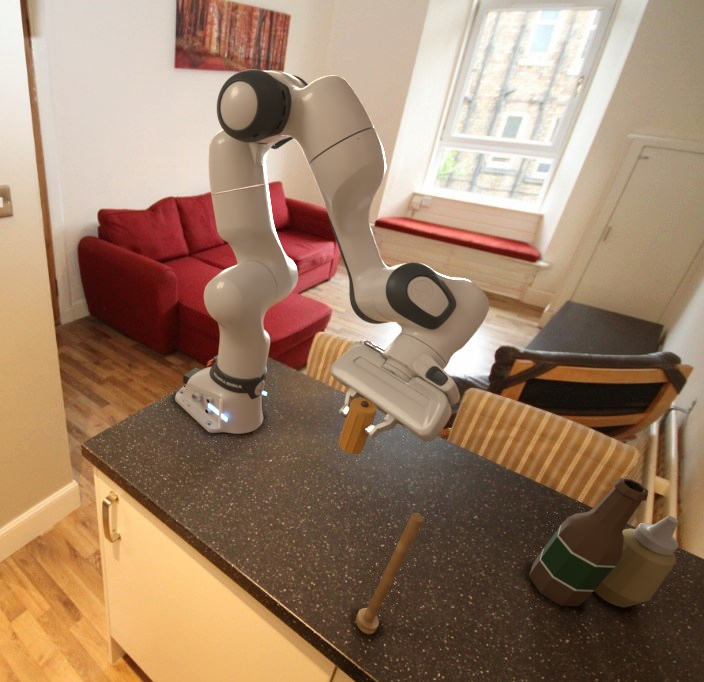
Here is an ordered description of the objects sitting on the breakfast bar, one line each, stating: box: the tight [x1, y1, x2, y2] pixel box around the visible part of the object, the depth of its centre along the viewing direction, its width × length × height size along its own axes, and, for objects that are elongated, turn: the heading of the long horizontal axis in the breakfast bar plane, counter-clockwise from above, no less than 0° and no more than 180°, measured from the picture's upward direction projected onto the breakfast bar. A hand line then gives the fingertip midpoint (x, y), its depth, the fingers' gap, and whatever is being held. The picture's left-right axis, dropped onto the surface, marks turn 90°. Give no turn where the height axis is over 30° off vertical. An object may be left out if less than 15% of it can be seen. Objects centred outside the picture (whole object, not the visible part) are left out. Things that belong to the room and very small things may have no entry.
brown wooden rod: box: [355, 512, 425, 635], centre depth 61 cm, size 3×3×24 cm
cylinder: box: [338, 397, 378, 455], centre depth 75 cm, size 4×4×10 cm
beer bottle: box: [528, 477, 649, 607], centre depth 69 cm, size 8×8×24 cm
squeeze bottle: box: [593, 515, 679, 608], centre depth 71 cm, size 8×8×18 cm
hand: (355, 425), depth 75 cm, fingers closed on cylinder, 4 cm apart
